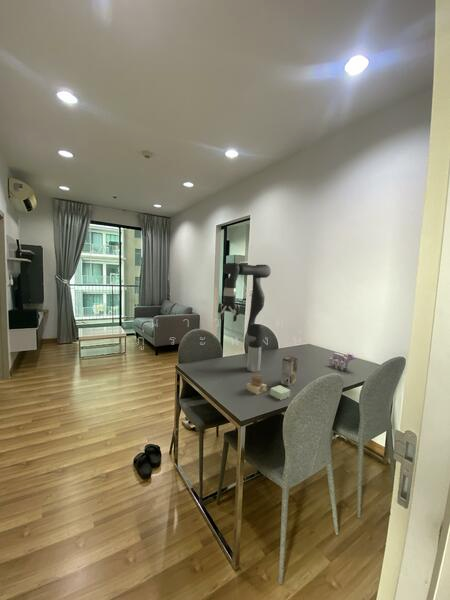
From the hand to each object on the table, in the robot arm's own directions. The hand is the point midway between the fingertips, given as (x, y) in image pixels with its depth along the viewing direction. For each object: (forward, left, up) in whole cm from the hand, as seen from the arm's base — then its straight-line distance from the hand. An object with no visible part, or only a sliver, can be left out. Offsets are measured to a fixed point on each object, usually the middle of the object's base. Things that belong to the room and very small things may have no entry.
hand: (228, 320), depth 165 cm
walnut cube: (+5, +23, -34) cm, 42 cm away
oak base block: (+5, +23, -38) cm, 45 cm away
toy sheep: (-66, +67, -38) cm, 102 cm away
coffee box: (-17, +37, -38) cm, 56 cm away
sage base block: (+4, +37, -38) cm, 53 cm away
